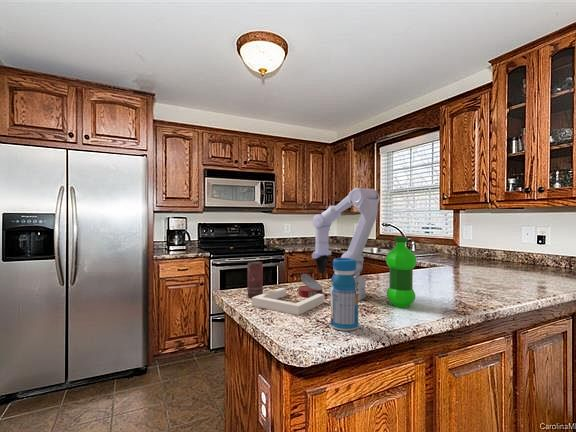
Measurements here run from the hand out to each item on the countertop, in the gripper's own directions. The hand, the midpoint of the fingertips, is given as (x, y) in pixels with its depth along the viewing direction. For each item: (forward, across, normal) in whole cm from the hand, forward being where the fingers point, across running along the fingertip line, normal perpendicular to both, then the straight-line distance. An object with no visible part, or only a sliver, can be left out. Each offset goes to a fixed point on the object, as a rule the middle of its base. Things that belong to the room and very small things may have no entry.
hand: (321, 273), depth 141 cm
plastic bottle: (+8, +5, +35) cm, 36 cm away
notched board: (+7, +26, 0) cm, 27 cm away
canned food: (+8, +10, 0) cm, 13 cm away
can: (+8, +25, -17) cm, 31 cm away
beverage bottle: (+8, +37, +27) cm, 46 cm away
